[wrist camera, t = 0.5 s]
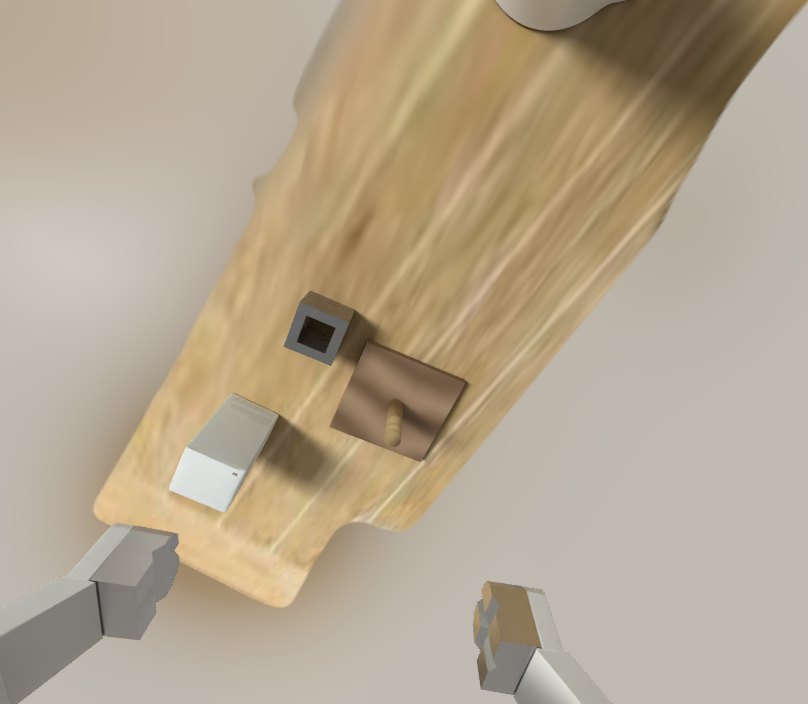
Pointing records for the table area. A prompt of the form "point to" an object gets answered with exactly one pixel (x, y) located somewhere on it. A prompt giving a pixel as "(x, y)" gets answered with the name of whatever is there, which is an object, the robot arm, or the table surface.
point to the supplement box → (223, 453)
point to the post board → (400, 385)
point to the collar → (313, 341)
